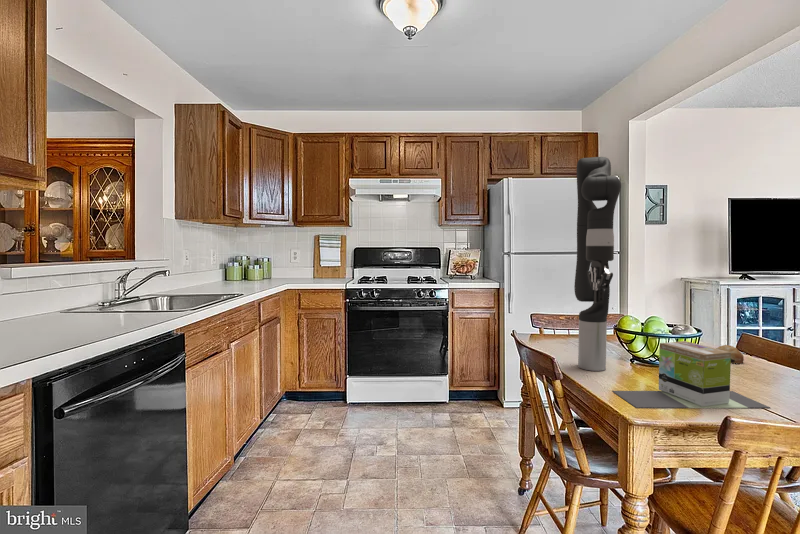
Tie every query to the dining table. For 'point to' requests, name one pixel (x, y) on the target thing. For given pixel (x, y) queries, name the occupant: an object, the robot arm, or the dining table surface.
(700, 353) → the tea box
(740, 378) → the dining table surface
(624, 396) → the mat
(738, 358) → the bread roll
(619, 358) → the dining table surface
